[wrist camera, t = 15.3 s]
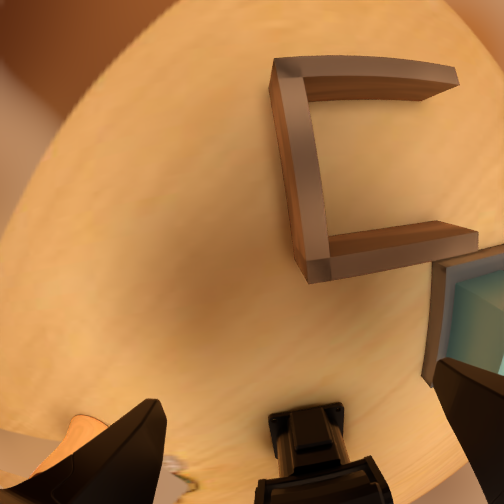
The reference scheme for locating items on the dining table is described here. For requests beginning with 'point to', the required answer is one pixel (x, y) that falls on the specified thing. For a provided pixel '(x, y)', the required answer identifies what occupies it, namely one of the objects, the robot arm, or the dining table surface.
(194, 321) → the dining table surface
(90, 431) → the beer glass
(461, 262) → the gray tray
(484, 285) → the teal block
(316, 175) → the frame
